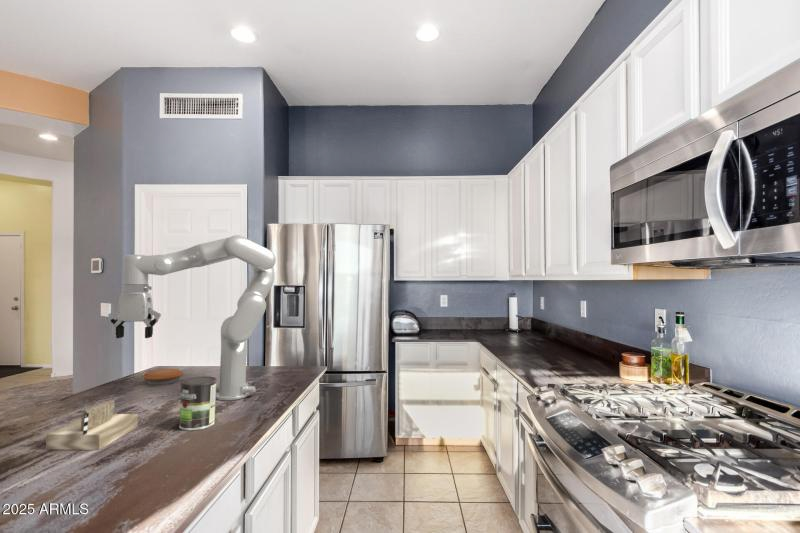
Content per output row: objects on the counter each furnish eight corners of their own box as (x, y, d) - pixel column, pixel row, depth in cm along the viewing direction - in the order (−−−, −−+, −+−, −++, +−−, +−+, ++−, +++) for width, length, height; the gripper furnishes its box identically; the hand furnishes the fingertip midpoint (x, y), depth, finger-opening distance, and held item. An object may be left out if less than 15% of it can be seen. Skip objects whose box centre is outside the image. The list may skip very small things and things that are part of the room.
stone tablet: (85, 413, 105) (120, 400, 117) (71, 412, 105) (108, 398, 117) (83, 435, 105) (118, 419, 117) (70, 434, 105) (106, 418, 117)
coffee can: (195, 433, 118) (197, 386, 118) (171, 427, 121) (173, 382, 122) (222, 421, 127) (224, 378, 128) (199, 416, 131) (200, 374, 131)
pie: (178, 376, 183) (178, 365, 183) (187, 383, 172) (187, 371, 172) (139, 381, 173) (139, 369, 173) (145, 389, 161) (146, 377, 161)
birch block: (137, 427, 121) (137, 414, 121) (98, 449, 105) (99, 434, 105) (91, 426, 120) (92, 413, 121) (45, 449, 104) (46, 434, 105)
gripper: (166, 289, 142) (165, 336, 142) (117, 288, 141) (115, 336, 141) (154, 290, 135) (153, 339, 134) (102, 289, 134) (101, 339, 133)
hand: (134, 337), depth 138 cm, fingers open, 9 cm apart
